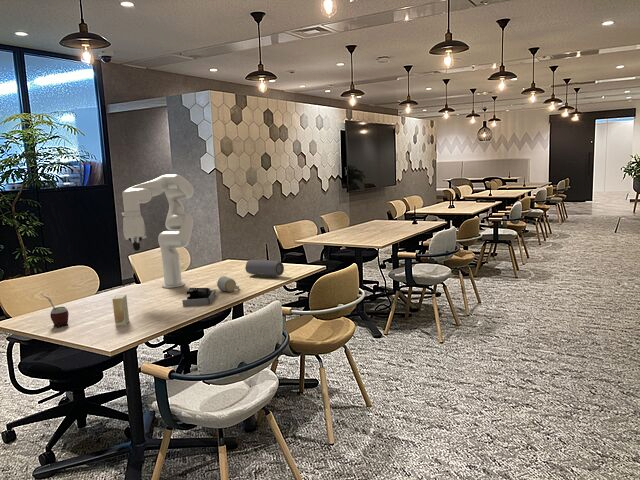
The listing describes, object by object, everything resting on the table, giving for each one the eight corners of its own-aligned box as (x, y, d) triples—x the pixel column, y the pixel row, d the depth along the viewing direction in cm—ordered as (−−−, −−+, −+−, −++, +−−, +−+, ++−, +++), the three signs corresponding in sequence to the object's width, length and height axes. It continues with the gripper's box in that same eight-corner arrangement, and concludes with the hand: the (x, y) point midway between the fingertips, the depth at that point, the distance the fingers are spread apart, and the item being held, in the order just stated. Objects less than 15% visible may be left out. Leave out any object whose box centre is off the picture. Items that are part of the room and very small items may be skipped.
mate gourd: (72, 323, 227) (68, 290, 225) (64, 328, 219) (60, 294, 217) (55, 324, 227) (51, 291, 225) (46, 329, 219) (42, 295, 217)
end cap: (211, 299, 255) (210, 286, 255) (205, 303, 249) (204, 289, 248) (193, 299, 258) (192, 286, 257) (186, 303, 251) (185, 289, 250)
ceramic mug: (225, 293, 266) (224, 279, 265) (217, 291, 272) (216, 277, 271) (242, 289, 273) (241, 275, 272) (234, 287, 279) (233, 274, 278)
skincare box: (119, 322, 224) (116, 295, 223) (129, 321, 225) (126, 294, 223) (115, 326, 218) (111, 298, 216) (125, 325, 218) (122, 297, 217)
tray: (190, 297, 263) (190, 291, 262) (215, 295, 263) (215, 289, 263) (182, 306, 245) (182, 300, 244) (210, 304, 245) (209, 298, 245)
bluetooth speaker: (285, 276, 301) (284, 259, 300) (275, 279, 294) (274, 262, 292) (255, 273, 314) (254, 257, 312) (245, 276, 306) (244, 260, 305)
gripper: (115, 216, 253) (119, 252, 256) (146, 214, 255) (150, 250, 257) (119, 214, 261) (124, 250, 264) (149, 212, 262) (153, 248, 265)
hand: (137, 250), depth 260 cm, fingers closed
